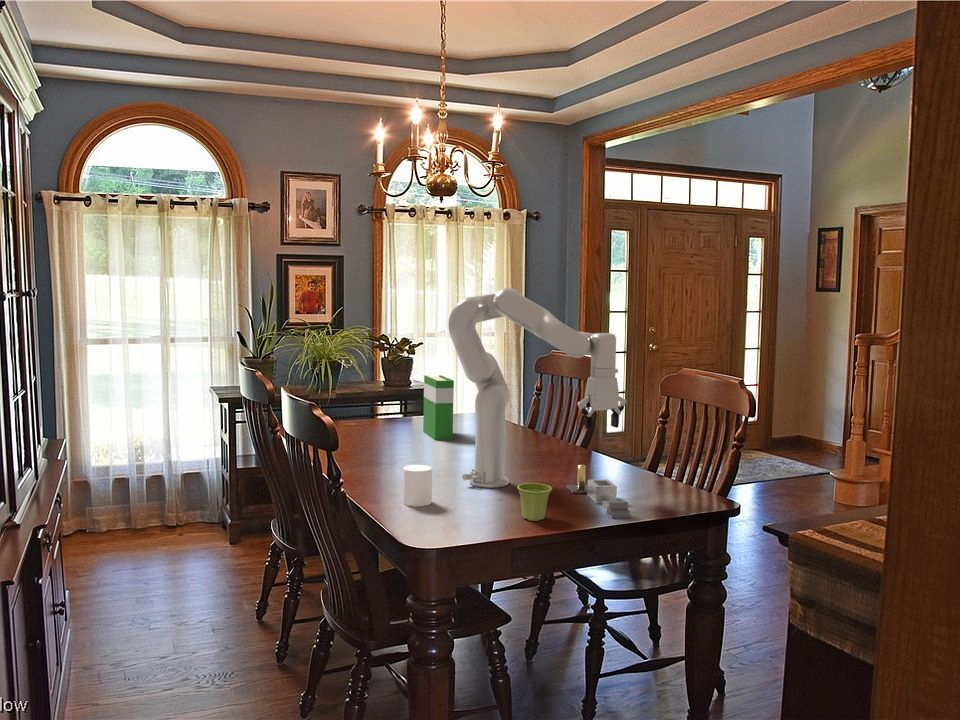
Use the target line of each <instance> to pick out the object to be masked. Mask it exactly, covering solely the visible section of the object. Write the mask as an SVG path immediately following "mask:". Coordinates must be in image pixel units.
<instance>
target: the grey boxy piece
mask: <svg viewBox="0 0 960 720" xmlns="http://www.w3.org/2000/svg"><path fill="white" fill-rule="evenodd" d="M606 514H607V515H608V516H609V515H610V516H611V517H612V518H623V519H630V516H631V515H630V514H631V511H630V510H629V502H628V500H616V501H609V507H607V510H606ZM610 516H609V517H610ZM611 517H610V518H611ZM612 518H611V519H612Z"/></svg>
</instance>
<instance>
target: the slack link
mask: <svg viewBox="0 0 960 720" xmlns="http://www.w3.org/2000/svg"><path fill="white" fill-rule="evenodd" d="M601 504H602V507H603V506H604V507H605V508H606V509H607V507H609V501H603V503H601ZM604 507H603V508H604ZM605 508H604V509H605ZM606 509H605V510H606Z"/></svg>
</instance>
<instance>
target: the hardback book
mask: <svg viewBox="0 0 960 720" xmlns="http://www.w3.org/2000/svg"><path fill="white" fill-rule="evenodd" d="M454 386H455V381H454V380H453V379H451V378H450V377H449V378H448V377H446V376H444V375H442V374H440V375H438V376H429V375H423V417H422V418H423V425H422V426H423V427H422V428H423V430H422V432H423V433H424V434H425V435H426V436H428V437H429V438H431V439H432V440H433V441H450V440H451V441H452V440H453V439H454V437H453V434H454V433H453V432H454V400H455V399H454V394H455V393H454V391H455V388H454Z"/></svg>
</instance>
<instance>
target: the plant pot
mask: <svg viewBox="0 0 960 720" xmlns="http://www.w3.org/2000/svg"><path fill="white" fill-rule="evenodd" d="M517 489H518V492H519V496H520V497H519V498H520V506H521V517H522V519H524V520H525V519H526V520H527V521H531V522H532V521H535V522H538V521H541V520H545V518H546V511H547V505H548V500H549V496H550V494H551V491H553V489H552V486H550V485H549V484H544V483H537V482H526V483H525V482H524V483H521V484H518V485H517Z"/></svg>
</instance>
